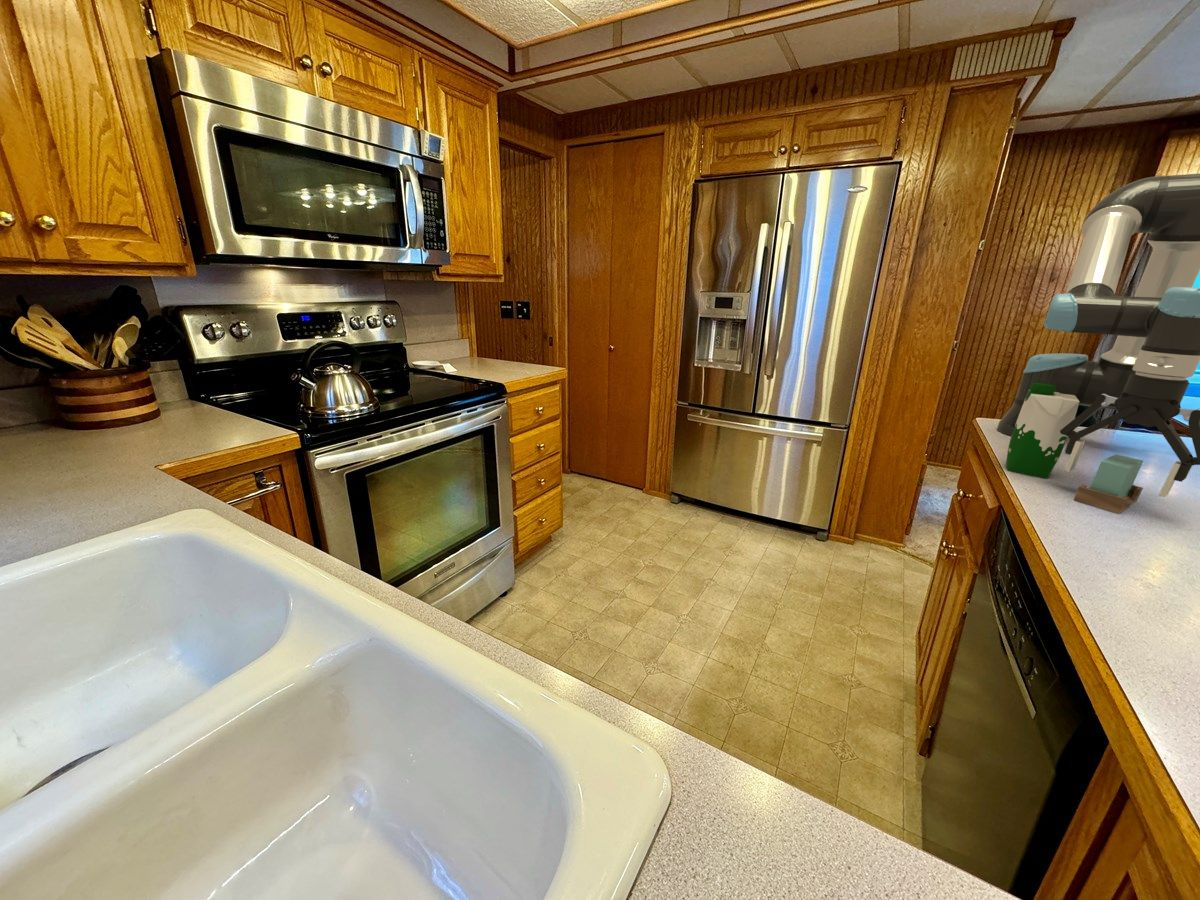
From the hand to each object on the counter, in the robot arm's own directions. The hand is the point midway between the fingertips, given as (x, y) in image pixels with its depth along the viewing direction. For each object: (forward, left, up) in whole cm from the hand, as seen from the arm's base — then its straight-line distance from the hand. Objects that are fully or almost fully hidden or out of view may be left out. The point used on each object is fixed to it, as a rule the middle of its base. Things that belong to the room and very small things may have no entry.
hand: (1113, 482), depth 95 cm
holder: (0, 0, -4) cm, 4 cm away
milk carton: (-12, -11, -4) cm, 17 cm away
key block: (0, 0, -4) cm, 4 cm away
